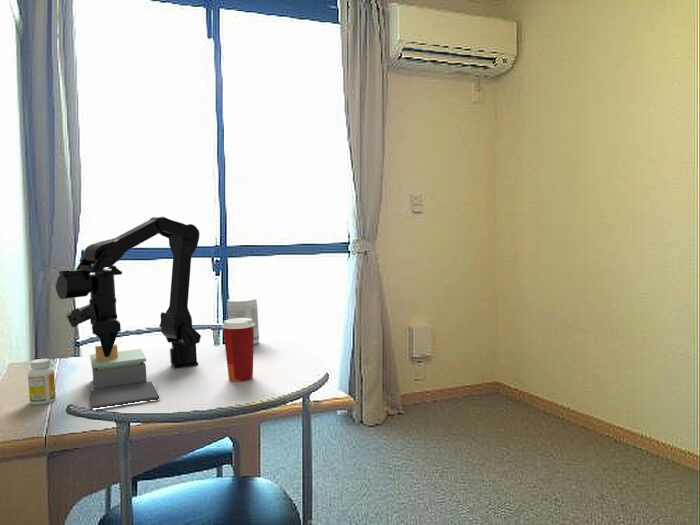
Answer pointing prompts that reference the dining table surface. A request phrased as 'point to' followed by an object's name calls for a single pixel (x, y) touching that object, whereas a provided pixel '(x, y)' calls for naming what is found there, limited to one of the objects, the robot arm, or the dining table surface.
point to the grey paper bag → (244, 312)
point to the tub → (119, 376)
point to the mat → (123, 394)
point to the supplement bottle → (41, 382)
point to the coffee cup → (239, 348)
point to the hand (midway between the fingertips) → (106, 355)
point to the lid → (116, 358)
